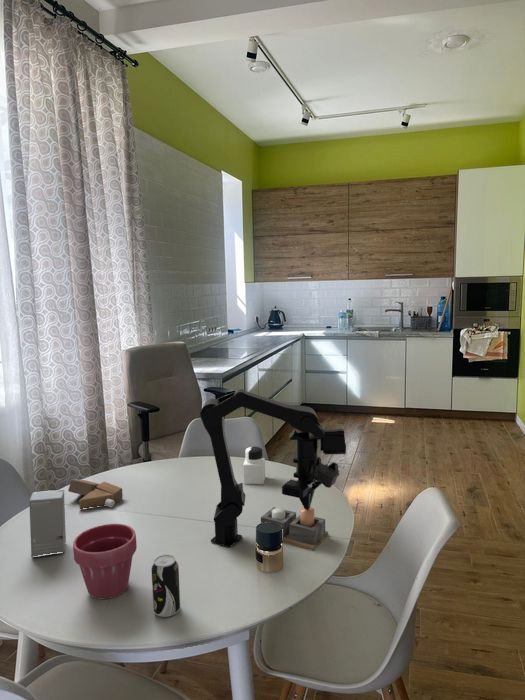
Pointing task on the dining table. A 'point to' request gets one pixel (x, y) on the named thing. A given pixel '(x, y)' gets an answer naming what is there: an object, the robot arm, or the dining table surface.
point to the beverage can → (165, 586)
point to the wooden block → (95, 493)
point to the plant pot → (105, 558)
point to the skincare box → (47, 522)
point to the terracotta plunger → (307, 517)
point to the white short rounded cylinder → (278, 513)
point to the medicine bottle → (254, 466)
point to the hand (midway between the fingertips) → (307, 509)
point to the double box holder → (298, 530)
